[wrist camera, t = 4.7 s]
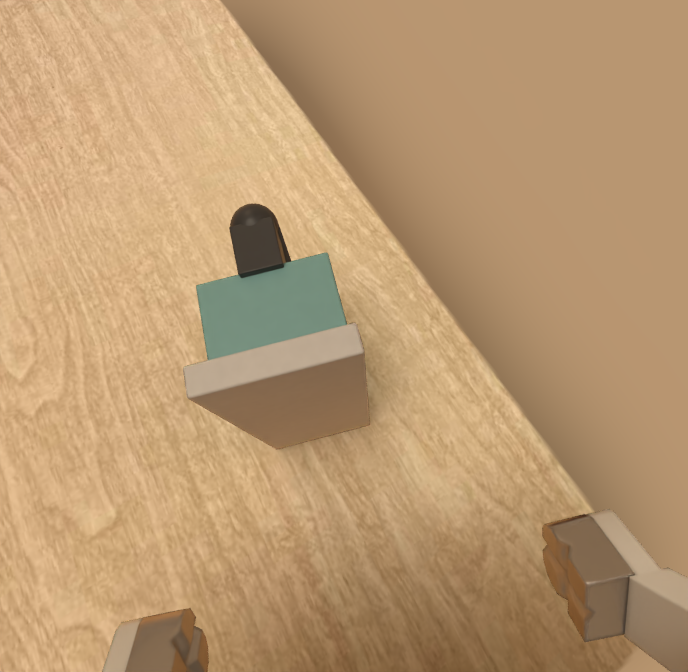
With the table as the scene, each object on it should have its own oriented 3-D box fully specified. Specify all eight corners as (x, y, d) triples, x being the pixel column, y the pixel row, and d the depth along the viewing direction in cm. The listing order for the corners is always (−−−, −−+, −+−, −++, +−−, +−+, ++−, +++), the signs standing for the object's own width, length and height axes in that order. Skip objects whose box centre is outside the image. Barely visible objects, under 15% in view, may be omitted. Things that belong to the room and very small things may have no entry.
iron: (370, 425, 26) (365, 352, 14) (276, 449, 26) (186, 398, 14) (337, 301, 29) (307, 146, 16) (251, 323, 28) (156, 184, 16)
